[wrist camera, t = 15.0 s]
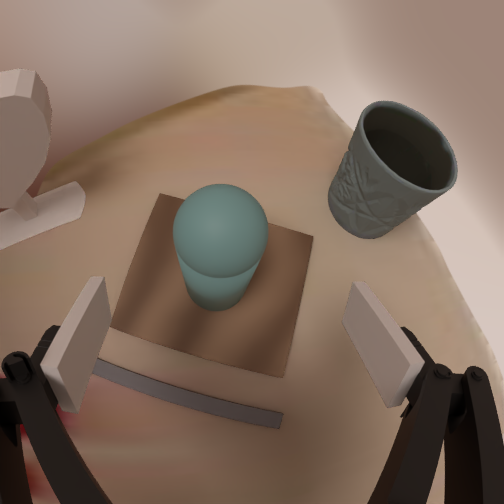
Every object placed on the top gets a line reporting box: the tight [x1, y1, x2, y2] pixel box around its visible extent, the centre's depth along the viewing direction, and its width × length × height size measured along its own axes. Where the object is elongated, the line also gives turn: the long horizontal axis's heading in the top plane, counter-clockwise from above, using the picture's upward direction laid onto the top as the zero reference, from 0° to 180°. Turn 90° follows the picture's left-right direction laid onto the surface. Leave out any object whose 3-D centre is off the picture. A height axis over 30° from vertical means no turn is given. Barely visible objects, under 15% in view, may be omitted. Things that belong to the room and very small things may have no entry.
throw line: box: [92, 358, 283, 429], centre depth 25 cm, size 18×2×1 cm, turn 76°
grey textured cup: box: [328, 101, 458, 239], centre depth 29 cm, size 10×10×12 cm
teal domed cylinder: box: [173, 184, 268, 311], centre depth 22 cm, size 6×6×14 cm
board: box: [110, 193, 313, 378], centre depth 29 cm, size 16×14×1 cm
